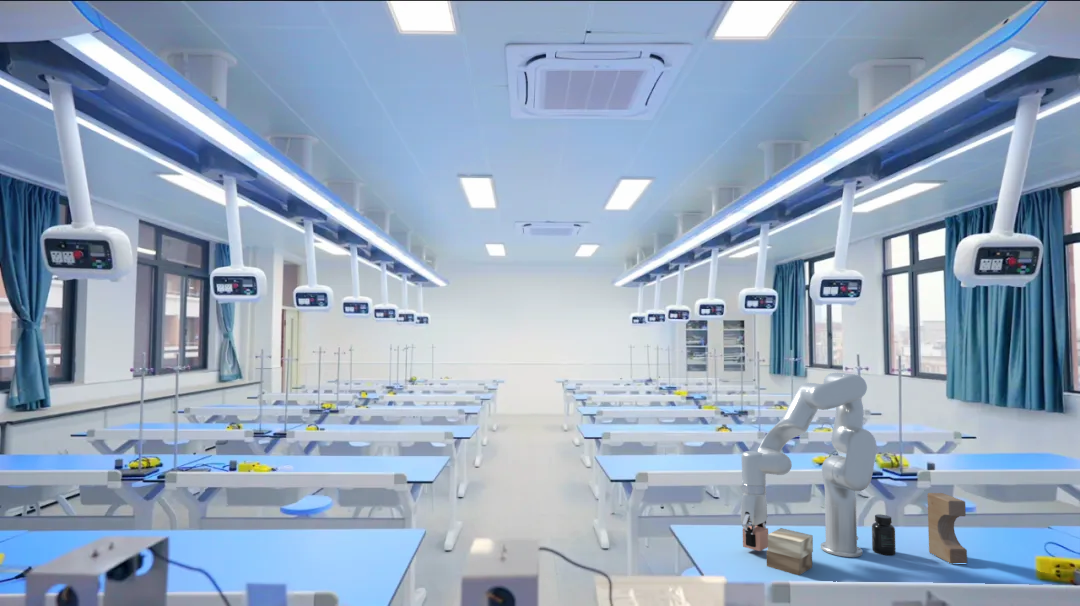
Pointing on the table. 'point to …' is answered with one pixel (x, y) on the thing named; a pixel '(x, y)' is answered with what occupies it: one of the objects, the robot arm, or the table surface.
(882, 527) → the supplement bottle
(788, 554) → the maple top block
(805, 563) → the walnut base block
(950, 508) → the decorative block
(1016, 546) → the table surface
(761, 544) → the terracotta cube
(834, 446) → the robot arm
